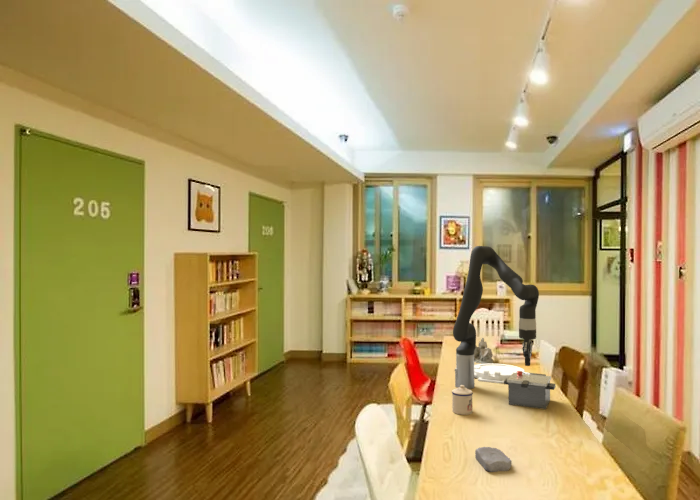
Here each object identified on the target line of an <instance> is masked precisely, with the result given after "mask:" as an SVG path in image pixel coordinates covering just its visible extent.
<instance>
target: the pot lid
mask: <svg viewBox="0 0 700 500" xmlns="http://www.w3.org/2000/svg"><path fill="white" fill-rule="evenodd" d="M551 379H552V376H551V375H546V374H545V373H544V374H543V373H536V372H526V371H525V372H522V371H517V373H513V374H512V375H511V376H510V377H509V378H508V379H507V382H509V383H518V384H521V387H524V388H527V387H528V385H536V386H545V387H546V386H547V385H548V383H549V381H550V382H551Z"/></svg>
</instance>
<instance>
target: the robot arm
mask: <svg viewBox="0 0 700 500" xmlns="http://www.w3.org/2000/svg"><path fill="white" fill-rule="evenodd" d="M469 257H470V258H469V263H468V264H469V265H468V273H467V275H466V282H465V285H464V290H463V294H462V298H461V304H460V306H459V311H458V314H457V317H456V320H455V324H454V325H453V329H452V335H453V338H454V340H456V342H459V343H460V344H459V345H458V347H456V349H455V351H456V352H455V356H456V358H455V362H456V363H455V368H454V374H455V375H454V383H455V384H454V387H455V388H458V387H460V385H464V386H465V388H467V389H469V390H471V389H474V388H475V385H476V384H475V377H474V365H475V362H474V351H475V348H476V346H477V329H476V327H475V326H474V324H472V322H470V321H471V318H472V316H473V315H474V313H475V311H476V310H477V309H478V308H479V306H480V303H481V301H482V296H483V292H484V288H483V283H482V280H481V271H482V268H483V266H484V265H488V266H490V267H491V268H493V269H494V270H495V271H496V272H497V275H498V277H499V279H500V280H501V281H502V282H503V283H505V285H507V286H508V287H509V288H510V289H511V291H512V293H513V294H514V295H515V297H516V298H518V299H519V300H521V301H524V303H523V304H522V305H520V307H519V317H518V318H519V320H518V337H519V339H522V340H523V342H522V345H521V346H522V348H521V350H522V354H523V357H524V366H525V367H526V366H527V367H530V366H531V357H532V353H533V345H534V343H533V342H532V340H535V339H537V317H536V316H537V315H536V312H537V311H536V309H537V305H538V301H539V296H540V291H539V288H538V286H537V285H535V284H524V283H523V281H524V280H523V278H522V276H520V275H519V274H518V273H517V272H515V271H514V270H513V269H512V268H511V267H509V265H508V264H506V262H505V261H504V260H503V259H502V258H501V257H500V256H499V254H498V253H497V252H496V251H495V250H494V249H493V248H492V247H491V246H487V245H476V246H474V247H473V248H472V250H471V252H470V256H469Z"/></svg>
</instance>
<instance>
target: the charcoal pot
mask: <svg viewBox="0 0 700 500" xmlns="http://www.w3.org/2000/svg"><path fill="white" fill-rule="evenodd" d="M504 385H507V386H508V388H507V389H508V405H510V406H518V407H525V408H532V409H541V410H547V408H548V405H549V403H550V401H551V391H552V390H553V391H555V389H556V383H551V380H550V381H549V383H548V385H547V386H546V387H545V386H536V385H528V387H527V388H524V387H521V384H518V383H509V382H507V378H506V380H505V381H504Z"/></svg>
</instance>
